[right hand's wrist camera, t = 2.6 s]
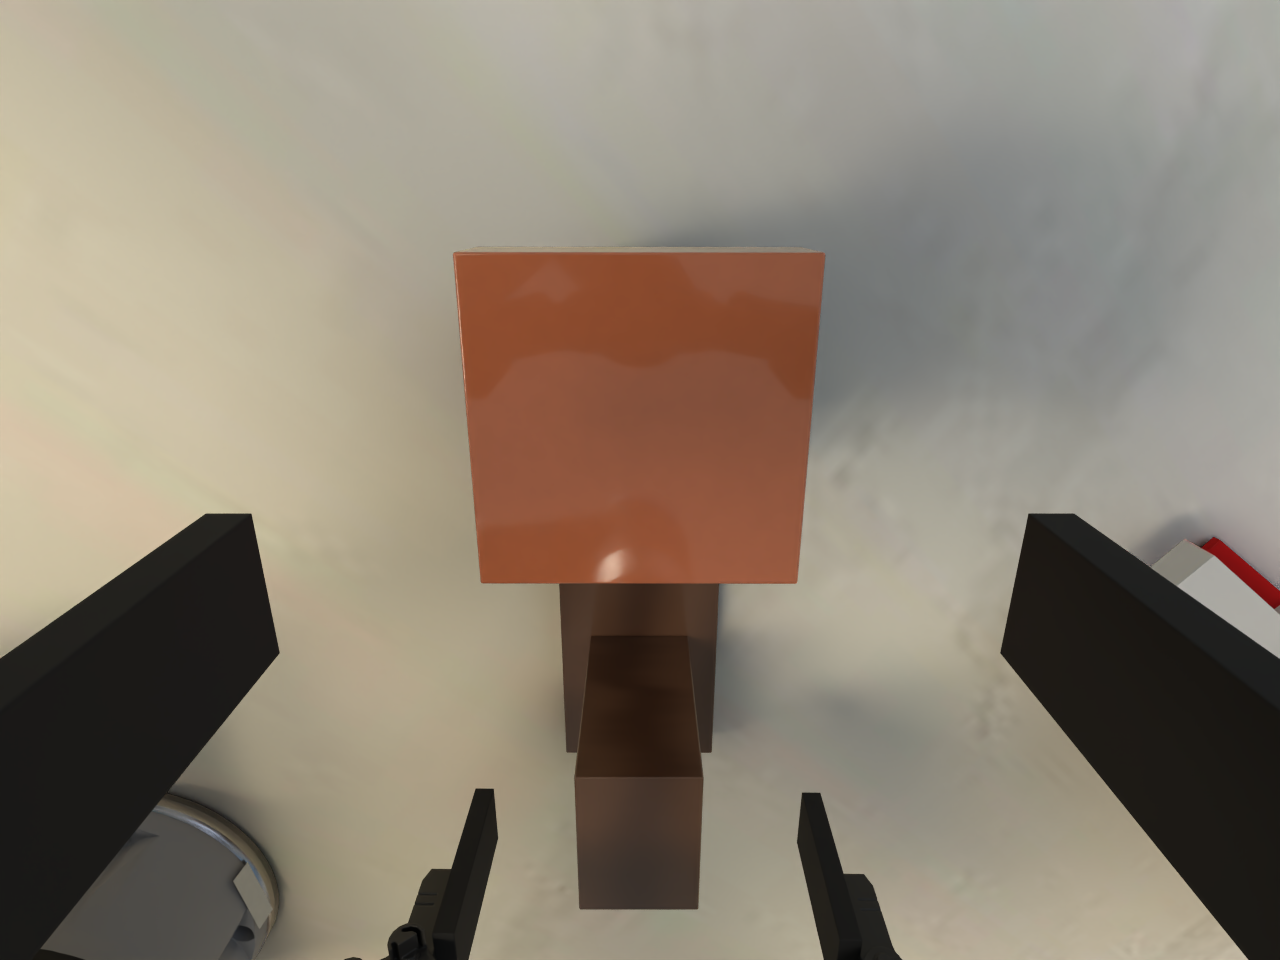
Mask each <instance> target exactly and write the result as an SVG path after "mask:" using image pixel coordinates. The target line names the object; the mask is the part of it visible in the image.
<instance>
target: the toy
mask: <svg viewBox="0 0 1280 960" xmlns="http://www.w3.org/2000/svg"><path fill="white" fill-rule="evenodd" d="M1150 568H1152V569H1153V570H1155V571H1156V572H1157V573H1159V574H1160V575H1162V576H1163V577H1165V578H1166V579H1167V580H1169V581H1170V582H1172V583H1173V584H1174V585H1176V586H1177V587H1179V588H1180V589H1182V590H1183V591H1184V592H1186V593H1187V594H1189V595H1190V596H1191V597H1193V598H1194V599H1196V600H1197V601H1199V602H1200V603H1201V604H1203V605H1204V606H1206V607H1207V608H1208V609H1210V610H1211V611H1213V612H1214V613H1216V614H1217V615H1218V616H1220V617H1221V618H1223V619H1224V620H1226V621H1227V622H1228V623H1230V624H1231V625H1233V626H1234V627H1235V628H1237V629H1238V630H1240V631H1241V632H1243V633H1244V634H1245V635H1247V636H1248V637H1250V638H1251V639H1252V640H1254V641H1255V642H1257V643H1258V644H1260V645H1261V646H1262V647H1264V648H1265V649H1267V650H1268V651H1269V652H1271V653H1272V654H1274V655H1275V656H1277V657H1278V658H1279V659H1280V591H1279V590H1278V589H1277V588H1275V587H1274V586H1273V585H1272V584H1271V583H1270V582H1268V581H1267V580H1266V579H1265V578H1264V577H1263V576H1261V575H1260V574H1259V573H1258V572H1257V571H1256V570H1254V569H1253V568H1252V567H1251V566H1250V565H1249V564H1247V563H1246V562H1245V561H1244V560H1243V559H1242V558H1240V557H1239V556H1238V555H1237V554H1236V553H1235V552H1233V551H1232V550H1231V549H1230V548H1229V547H1228V546H1226V545H1225V544H1224V543H1223V542H1222V541H1221V540H1219V539H1217V538H1215V537H1213V538H1212V539H1211V540H1210V541H1208V542H1207V543H1206V544H1205V545H1204V546H1203V547H1201V548H1200V547H1198V546H1197V545H1195V544H1193V543H1191V542H1190V541H1188V540H1186V539H1184V540H1183V541H1181V542H1180V543H1179V544H1178V545H1177V546H1175V547H1174V548H1173V549H1172V550H1171V551H1169V552H1168V553H1167V554H1166V555H1165V556H1163V557H1162V558H1161V559H1160V560H1159V561H1157V562H1156V563H1155V564H1154V565H1153V566H1151V567H1150Z"/></svg>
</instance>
